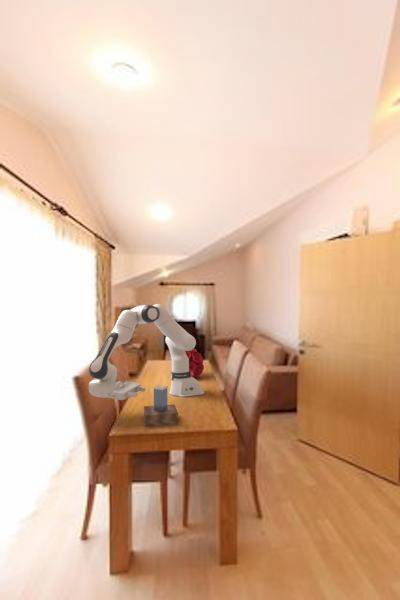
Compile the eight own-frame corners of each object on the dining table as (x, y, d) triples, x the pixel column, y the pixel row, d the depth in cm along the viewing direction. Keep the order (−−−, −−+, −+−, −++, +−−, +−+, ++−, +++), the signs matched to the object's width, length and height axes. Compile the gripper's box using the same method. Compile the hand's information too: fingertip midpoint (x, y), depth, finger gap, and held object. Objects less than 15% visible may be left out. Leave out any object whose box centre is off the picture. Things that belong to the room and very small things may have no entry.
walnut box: (174, 415, 191) (174, 404, 191) (178, 425, 177) (178, 413, 177) (144, 417, 188) (144, 406, 188) (145, 427, 174) (145, 415, 174)
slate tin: (159, 407, 186) (158, 384, 185) (167, 408, 184) (167, 385, 183) (153, 410, 181) (153, 387, 181) (162, 411, 179) (162, 388, 179)
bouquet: (171, 383, 281) (176, 371, 255) (171, 354, 292) (176, 340, 266) (198, 384, 285) (206, 372, 259) (197, 355, 296) (205, 342, 270)
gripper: (106, 389, 179) (131, 391, 175) (126, 379, 199) (149, 381, 195) (106, 401, 180) (131, 404, 175) (126, 390, 199) (149, 393, 195)
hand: (140, 392), depth 185 cm, fingers open, 8 cm apart
